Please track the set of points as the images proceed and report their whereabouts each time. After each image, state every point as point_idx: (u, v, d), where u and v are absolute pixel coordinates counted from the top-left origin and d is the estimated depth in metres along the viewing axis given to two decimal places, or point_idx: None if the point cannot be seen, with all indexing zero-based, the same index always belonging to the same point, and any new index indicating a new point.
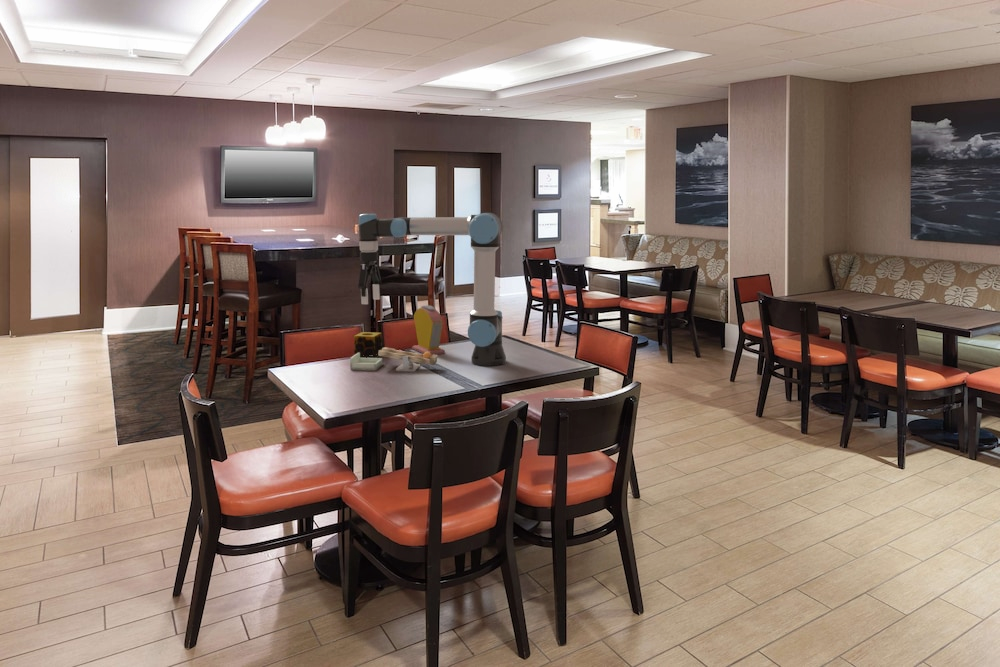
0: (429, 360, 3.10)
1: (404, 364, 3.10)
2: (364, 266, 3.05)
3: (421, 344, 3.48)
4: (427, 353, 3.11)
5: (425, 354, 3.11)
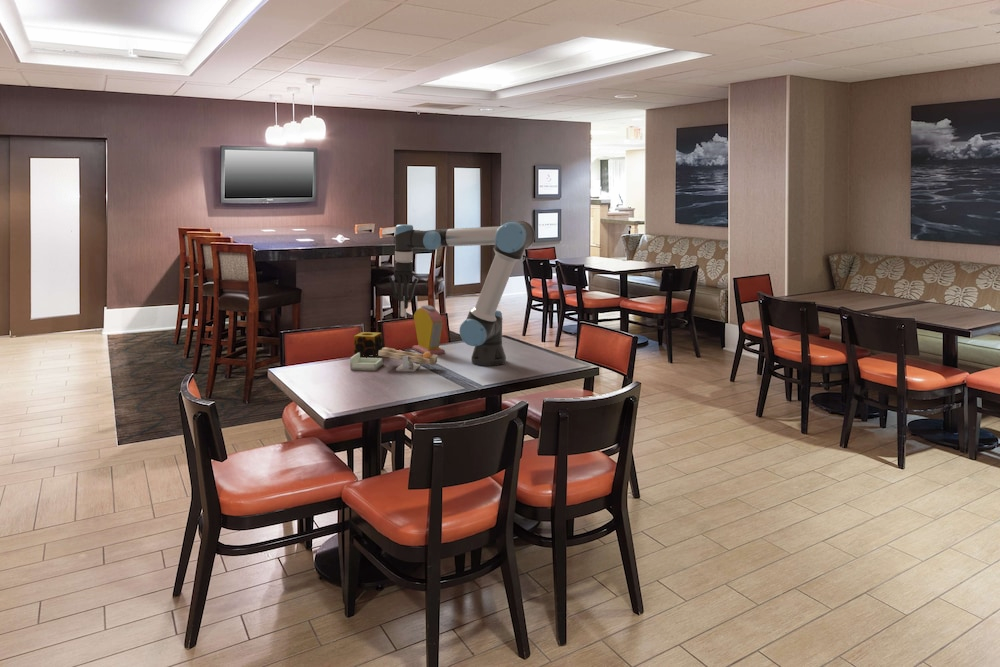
0: (429, 360, 3.10)
1: (404, 364, 3.10)
2: None
3: (421, 344, 3.48)
4: (427, 353, 3.11)
5: (425, 354, 3.11)
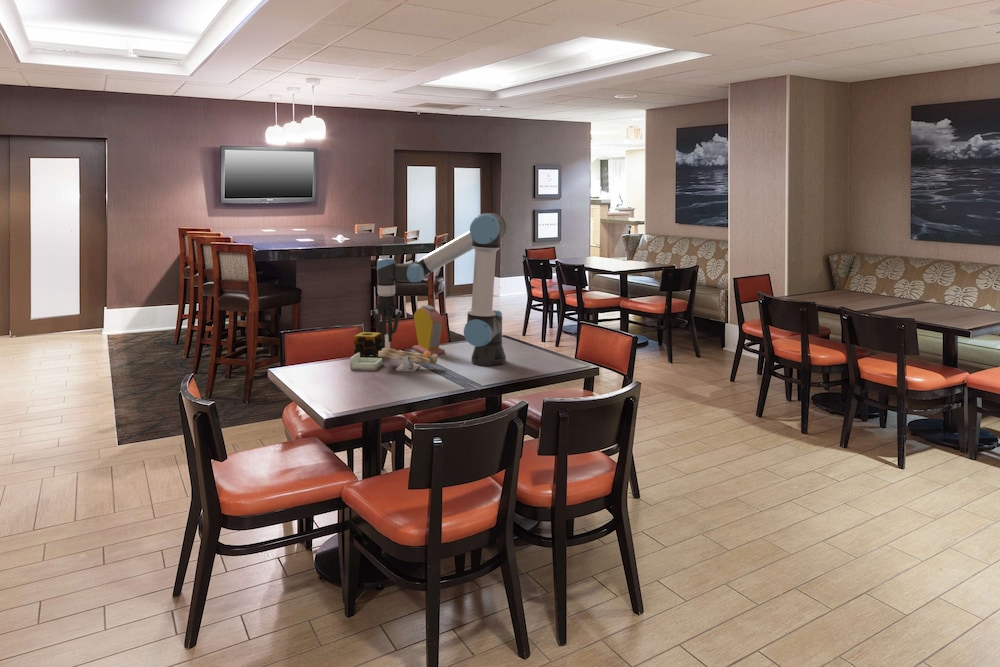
0: (429, 359, 3.10)
1: (404, 364, 3.10)
2: None
3: (421, 344, 3.48)
4: (427, 353, 3.11)
5: (425, 354, 3.11)
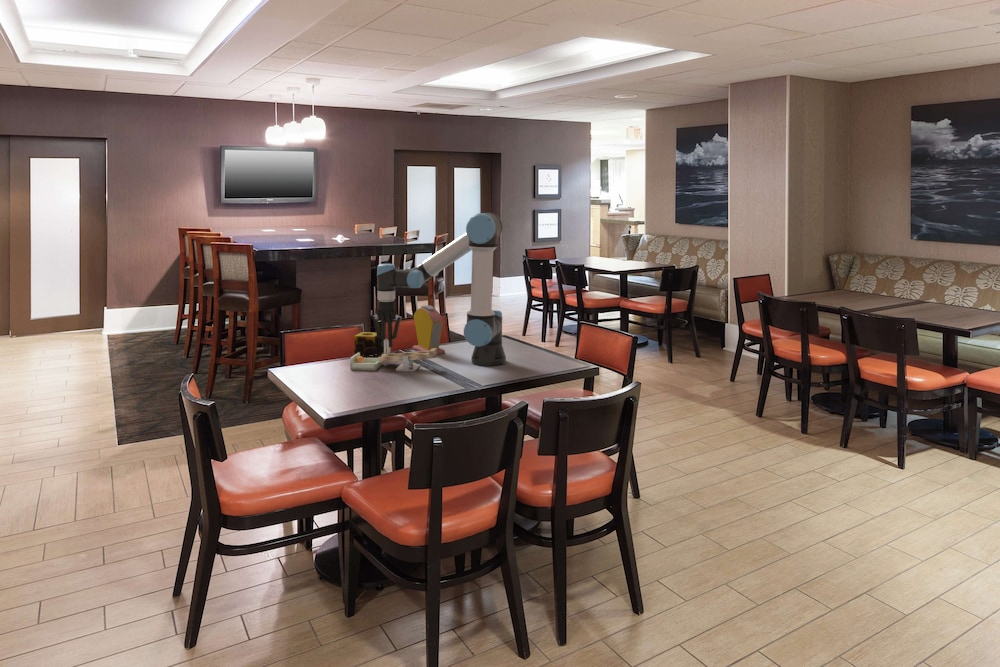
0: (429, 354, 3.09)
1: (404, 364, 3.10)
2: None
3: (421, 344, 3.48)
4: None
5: (361, 361, 3.16)
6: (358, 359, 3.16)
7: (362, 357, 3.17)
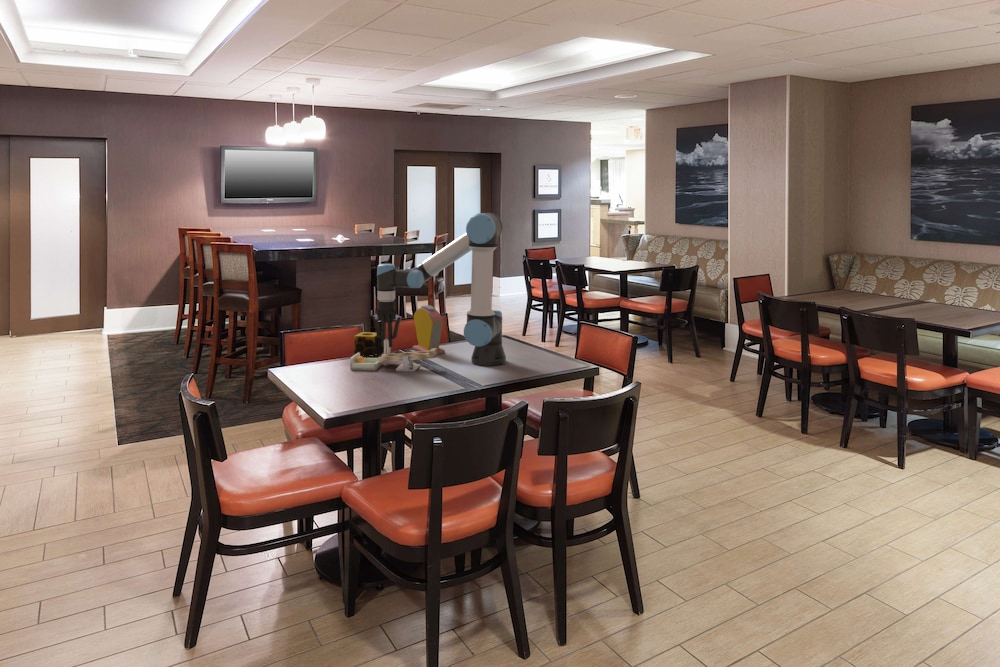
0: (429, 354, 3.09)
1: (404, 364, 3.10)
2: None
3: (421, 344, 3.48)
4: None
5: (361, 362, 3.16)
6: (358, 359, 3.16)
7: (363, 357, 3.16)
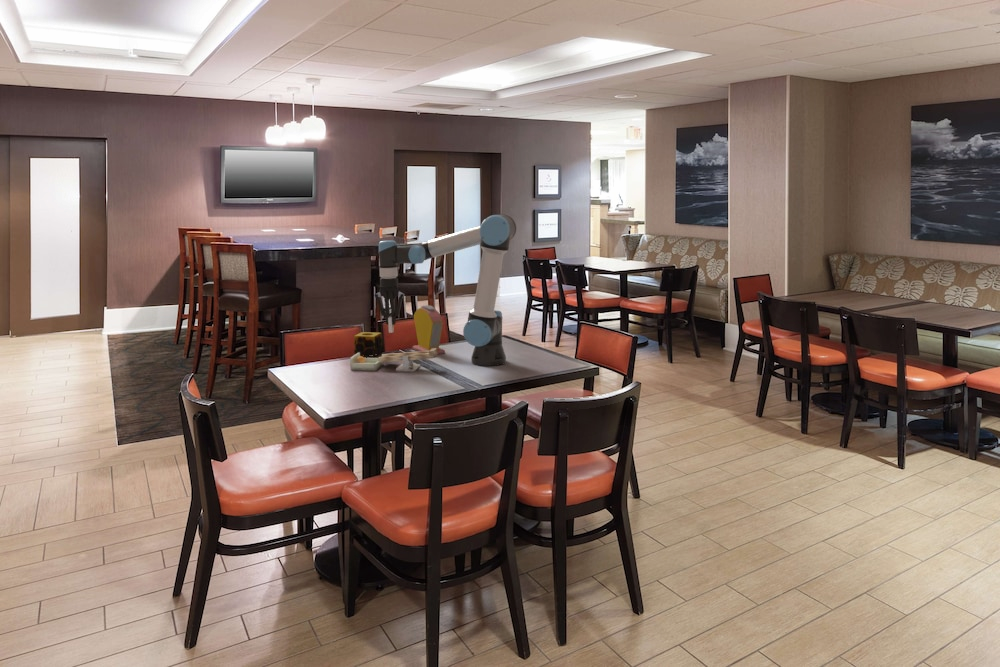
0: (429, 354, 3.09)
1: (404, 364, 3.10)
2: None
3: (421, 344, 3.48)
4: None
5: (362, 362, 3.16)
6: (359, 359, 3.16)
7: (363, 358, 3.16)
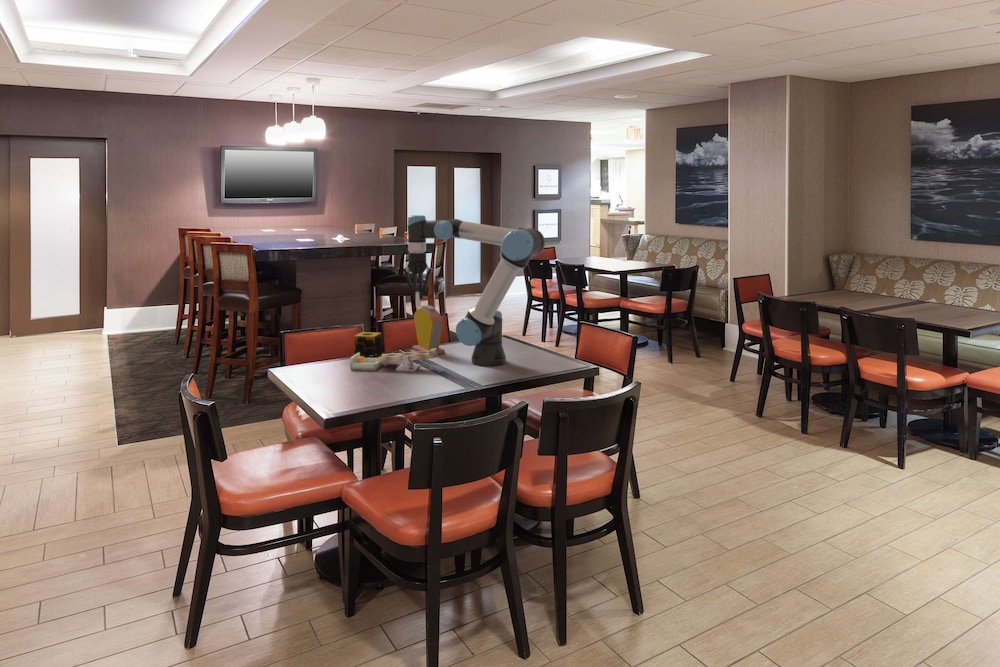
0: (429, 354, 3.09)
1: (404, 364, 3.10)
2: None
3: (421, 344, 3.48)
4: None
5: (362, 362, 3.16)
6: (359, 359, 3.15)
7: (364, 358, 3.16)
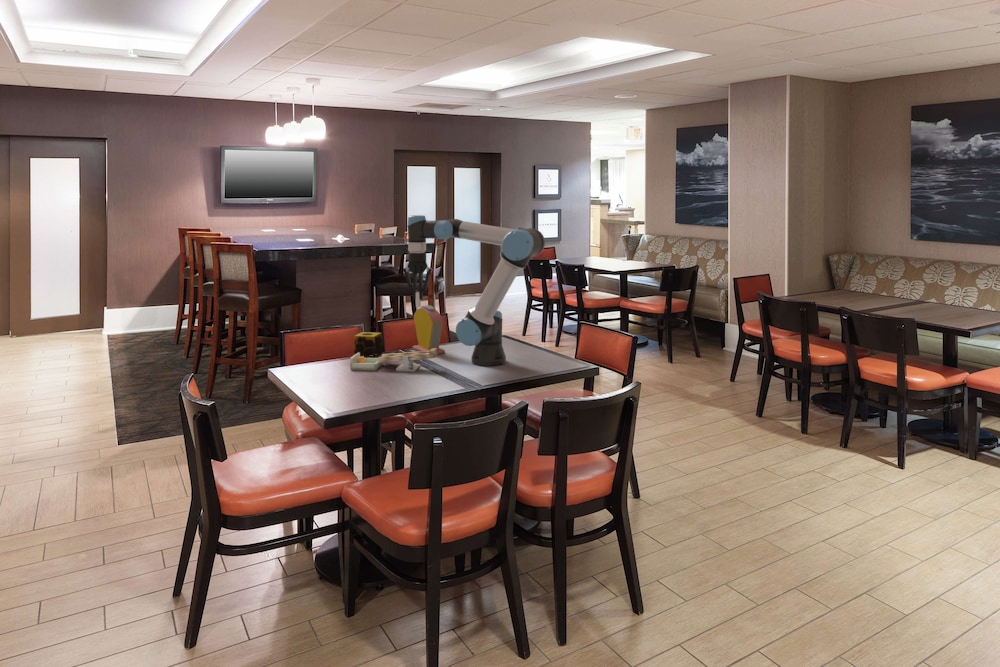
0: (429, 354, 3.09)
1: (404, 364, 3.10)
2: None
3: (421, 344, 3.48)
4: None
5: (362, 362, 3.16)
6: (360, 359, 3.15)
7: (364, 358, 3.16)
